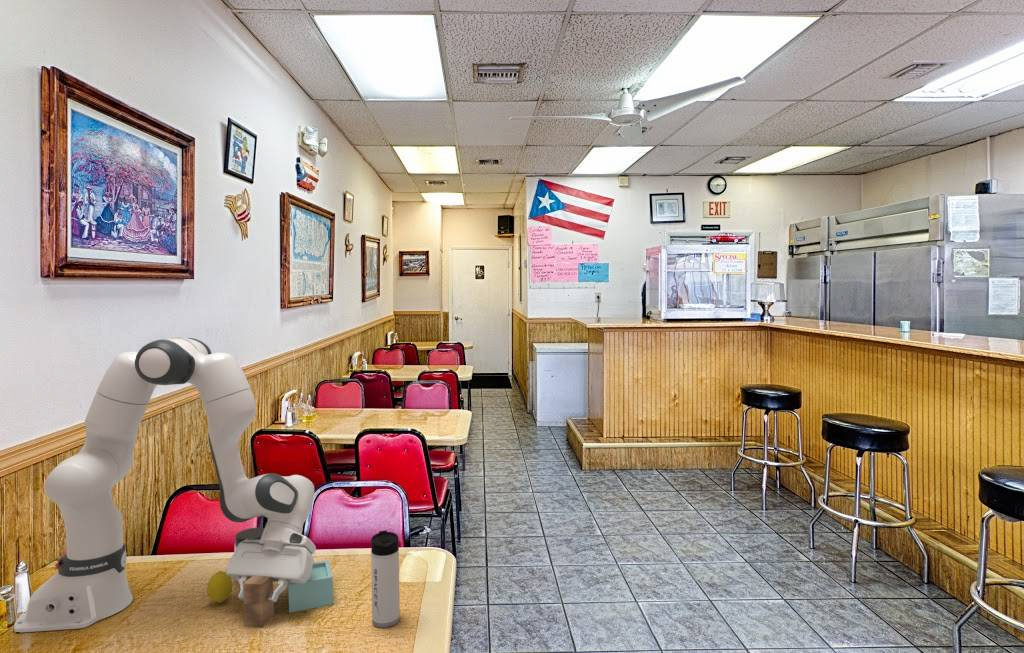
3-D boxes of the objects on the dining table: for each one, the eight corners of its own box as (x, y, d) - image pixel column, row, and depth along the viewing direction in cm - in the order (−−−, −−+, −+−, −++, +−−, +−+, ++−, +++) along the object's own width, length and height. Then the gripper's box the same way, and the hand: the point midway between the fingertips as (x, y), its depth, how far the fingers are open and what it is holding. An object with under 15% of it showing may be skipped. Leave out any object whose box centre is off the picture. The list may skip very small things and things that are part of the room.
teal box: (289, 613, 136) (288, 585, 135) (288, 594, 145) (287, 567, 145) (333, 605, 140) (332, 577, 139) (329, 586, 149) (328, 560, 148)
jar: (273, 578, 153) (272, 534, 152) (241, 588, 148) (240, 542, 147) (263, 566, 160) (262, 524, 159) (232, 575, 155) (231, 532, 154)
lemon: (205, 610, 137) (204, 577, 137) (210, 598, 142) (209, 567, 142) (230, 606, 139) (229, 574, 138) (234, 595, 144) (234, 564, 144)
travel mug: (397, 610, 137) (395, 528, 136) (401, 624, 130) (400, 539, 130) (370, 615, 134) (369, 532, 133) (374, 630, 128) (372, 543, 127)
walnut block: (244, 626, 130) (243, 583, 130) (256, 615, 135) (255, 573, 134) (262, 627, 130) (261, 584, 129) (273, 616, 134) (272, 575, 134)
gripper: (235, 533, 140) (209, 591, 131) (313, 537, 137) (292, 598, 127) (246, 543, 144) (222, 600, 135) (322, 548, 141) (302, 607, 132)
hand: (256, 599), depth 131 cm, fingers open, 6 cm apart
